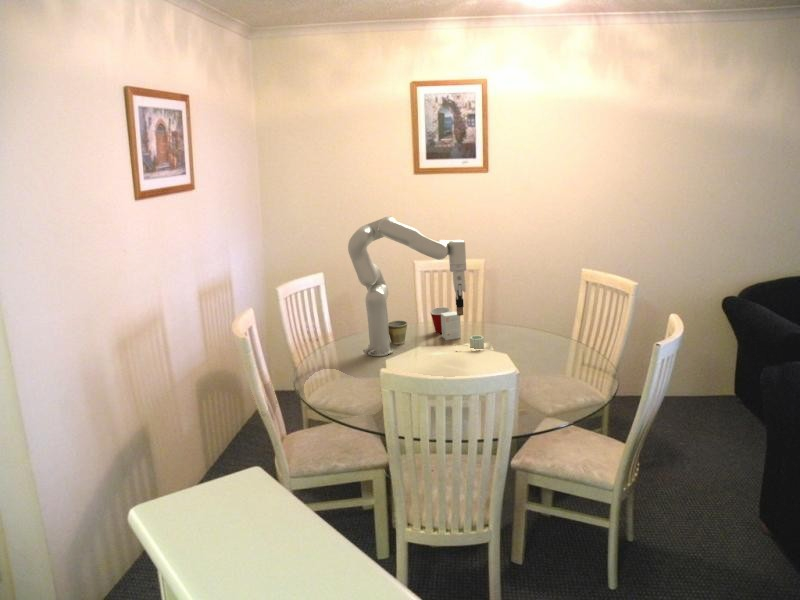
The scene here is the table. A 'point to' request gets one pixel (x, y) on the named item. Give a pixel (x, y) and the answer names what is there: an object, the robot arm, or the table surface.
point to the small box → (450, 325)
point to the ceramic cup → (397, 331)
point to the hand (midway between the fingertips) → (459, 305)
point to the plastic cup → (438, 317)
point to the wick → (459, 310)
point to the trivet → (486, 345)
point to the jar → (477, 342)
